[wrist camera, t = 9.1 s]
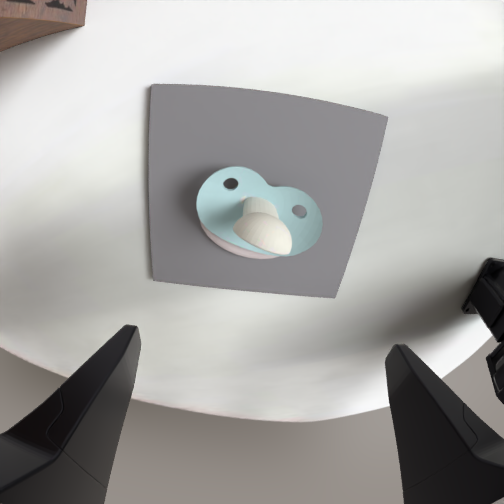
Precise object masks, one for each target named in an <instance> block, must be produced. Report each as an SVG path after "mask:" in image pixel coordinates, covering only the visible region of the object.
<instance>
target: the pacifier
mask: <svg viewBox="0 0 504 504" xmlns="http://www.w3.org/2000/svg"><path fill="white" fill-rule="evenodd" d="M228 178H235V179H236V180H237V181H238V185H237V187H235V188H233V189H227V188H225V187H224V185H223V182H224V181H225V180H226V179H228ZM196 205H197V212H198V216H199V219H200V222H201V226H202V228H203V230H204V231H205V233H206V234H207V236H208V237H209V238H210V239H211V240H212V241H213V242H215V243H216V244H217V245H219V246H220V247H222V248H223V249H225V250H227V251H229V252H232V253H234V254H236V255H240V256H243V257H247V258H254V259H271V258H275V257H279V256H294V255H297V254H299V253H301V252H304V251H306V250H308V249H309V248H310V247H312V246H313V245H314V244H315V243H316V242H317V240H318V238H319V237H320V234H321V232H322V225H323V222H322V215H321V212H320V209H319V208H318V206H317V204H316V203H315V201H314V200H313V199H312V198H311V197H310V196H309V195H308V194H306V193H305V192H303V191H301V190H299V189H297V188H293V187H290V186H270V185H268V184H267V183H266V181H265V180H264V179H263V178H262V177H261V176H260V175H259V174H258V173H257V172H255V171H253V170H252V169H249V168H246V167H242V166H230V167H226V168H222V169H220V170H218V171H216V172H214V173H213V174H212V175H211V176H209V177H208V178H207V180H206V181H205V182H204V183H203V185H202V187H201V188H200V190H199V193H198V196H197V203H196ZM295 205H302V206H304V207H305V208H306V214H305V215H304V216H296V215H294V214H293V212H292V208H293V207H294V206H295Z"/></svg>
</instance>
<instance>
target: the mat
mask: <svg viewBox="0 0 504 504" xmlns="http://www.w3.org/2000/svg"><path fill="white" fill-rule="evenodd" d="M387 121H388V117H387V116H384V115H381V114H377V113H373V112H370V111H366V110H362V109H358V108H354V107H350V106H345V105H341V104H336V103H332V102H327V101H322V100H317V99H312V98H307V97H301V96H295V95H289V94H282V93H276V92H268V91H261V90H252V89H243V88H233V87H221V86H207V85H185V84H152V86H151V101H150V122H149V218H150V240H151V256H152V270H153V281H159V282H168V283H176V284H185V285H193V286H203V287H212V288H221V289H231V290H241V291H252V292H263V293H274V294H286V295H298V296H311V297H324V298H335V297H336V294H337V292H338V289H339V286H340V283H341V280H342V278H343V275H344V272H345V269H346V266H347V263H348V260H349V257H350V254H351V251H352V248H353V245H354V242H355V239H356V236H357V233H358V229H359V226H360V223H361V220H362V216H363V213H364V210H365V206H366V203H367V199H368V196H369V192H370V189H371V185H372V182H373V178H374V174H375V170H376V166H377V163H378V159H379V155H380V151H381V147H382V142H383V138H384V134H385V129H386V125H387ZM230 166H242V167H246V168H249V169H252V170H253V171H255V172H257V173H258V174H259V175H260V176H261V177H262V178H263V179H264V180H265V181H266V183H267V184H268V185H270V186H290V187H293V188H297V189H299V190H301V191H303V192H305V193H306V194H308V195H309V196H310V197H311V198H312V199H313V200H314V201H315V203H316V204H317V206H318V208H319V209H320V212H321V215H322V222H323V225H322V232H321V234H320V237H319V238H318V240H317V242H316V243H315V244H314V245H313V246H312V247H310V248H309V249H308V250H306V251H304V252H301V253H299V254H297V255H294V256H279V257H275V258H271V259H254V258H247V257H243V256H240V255H236V254H234V253H232V252H229V251H227V250H225V249H223V248H222V247H220V246H219V245H217V244H216V243H215V242H213V241H212V240H211V239H210V238H209V237H208V236H207V234H206V233H205V231H204V230H203V228H202V226H201V222H200V219H199V216H198V212H197V205H196V203H197V196H198V193H199V190H200V188H201V187H202V185H203V183H204V182H205V181H206V180H207V178H208V177H209V176H211V175H212V174H213V173H214V172H216V171H218V170H220V169H222V168H226V167H230ZM223 185H224V187H225V188H227V189H233V188H235V187H237V185H238V181H237V180H236V179H235V178H228V179H226V180H225V181H224V182H223ZM292 212H293V214H294V215H296V216H304V215H305V214H306V208H305V207H304V206H302V205H295V206H294V207H293V208H292Z"/></svg>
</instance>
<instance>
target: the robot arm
mask: <svg viewBox="0 0 504 504" xmlns="http://www.w3.org/2000/svg"><path fill="white" fill-rule="evenodd" d="M462 311H463V313H464V314H479V316H480V317H481V319H482V320H483V322H484V323H485V325H486V326H487V328H489V330H490V331H491V333H492V335H493V336H494V338H495V340H496V341H497V342H499V345H498V346H497V347H496V348H495V349H494V350H493V352H492V353H491V354H489V355H488V356H487V357H486V361H487V364H488V368H489V371H490V375H491V378H492V382H493V386H494V389H495V393H496V396H497V397H498V399H499V400H500V401H501V402H502V403H503V404H504V260H501V259H495V258H491V259H489V260H488V262H487V264H486V266H485V268H484V270H483V272H482V274H481V276H480V277H479V279H478V281H477V283H476V285H475V287H474V289H473V290H472V292H471V294H470V296H469V297H468V299H467V301H466V303H465V304H464V306H463V308H462ZM140 350H141V340H140V334H139V329H138V327H137V326H134V325H125V326H123V327H122V328H121V329H120V330H119V331H118V332H117V333H116V334H115V335H114V336H113V337H112V338H111V339H109V340H108V341H107V342H106V343H105V344H104V345H103V346H102V347H101V348H100V349H99V350H98V351H97V352H96V353H94V354H93V355H92V356H91V357H90V358H89V359H88V360H87V361H86V362H85V363H84V364H83V365H82V366H81V367H80V368H79V369H78V370H77V371H76V372H74V373H73V374H72V375H71V376H70V377H69V378H68V379H67V380H66V381H65V382H64V383H63V384H62V385H61V386H60V388H58V389H57V390H56V391H55V392H54V393H53V394H52V395H50V396H49V397H48V398H47V399H46V400H45V401H44V402H43V403H42V404H40V405H39V406H38V407H37V408H36V409H34V410H33V411H32V412H31V413H29V414H28V415H27V416H25V417H24V418H23V419H22V420H20V421H19V422H18V423H16V424H15V425H14V426H13V427H11V428H10V429H9V430H7V431H5V432H4V433H1V434H0V504H104V501H105V496H106V492H107V487H108V483H109V478H110V474H111V470H112V465H113V461H114V457H115V453H116V449H117V445H118V442H119V438H120V434H121V430H122V427H123V422H124V419H125V416H126V412H127V408H128V405H129V402H130V398H131V395H132V391H133V388H134V383H135V377H136V371H137V366H138V360H139V355H140ZM385 368H386V377H387V387H388V397H389V403H390V408H391V414H392V419H393V425H394V430H395V437H396V443H397V449H398V456H399V463H400V471H401V479H402V487H403V498H404V504H504V439H503V438H502V437H501V436H499V435H498V434H497V433H496V432H495V431H494V430H493V429H492V428H490V427H489V426H488V425H487V424H486V423H484V422H483V421H482V420H481V419H480V418H479V417H478V416H477V415H476V414H475V413H474V412H473V411H472V410H471V409H470V408H469V407H468V406H467V405H466V404H465V403H463V401H462V400H461V399H460V398H459V397H458V396H457V395H456V394H455V393H454V392H453V391H452V390H451V389H450V388H449V387H448V386H447V385H446V384H445V383H444V382H443V381H442V380H441V379H440V378H439V377H438V376H437V375H436V374H435V373H434V372H433V371H432V370H431V369H430V368H429V367H428V366H427V365H426V364H425V363H424V362H423V361H422V360H421V359H420V358H419V357H418V356H417V355H416V354H415V353H414V352H413V351H412V350H411V349H410V348H409V347H408V346H407V345H405V344H395V345H394V346H393V348H392V349H391V351H390V352H389V354H388V356H387V357H386V360H385Z"/></svg>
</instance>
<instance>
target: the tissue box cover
mask: <svg viewBox="0 0 504 504" xmlns="http://www.w3.org/2000/svg"><path fill="white" fill-rule="evenodd" d="M86 6H87V0H0V52H1V51H3V50H6V49H8V48H11V47H14V46H16V45H19V44H22V43H25V42H28V41H30V40H33V39H36V38H40V37H43V36H46V35H49V34H53V33H56V32H60V31H64V30H68V29H71V28H76V27H80V26H84V25H85V14H86Z"/></svg>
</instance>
